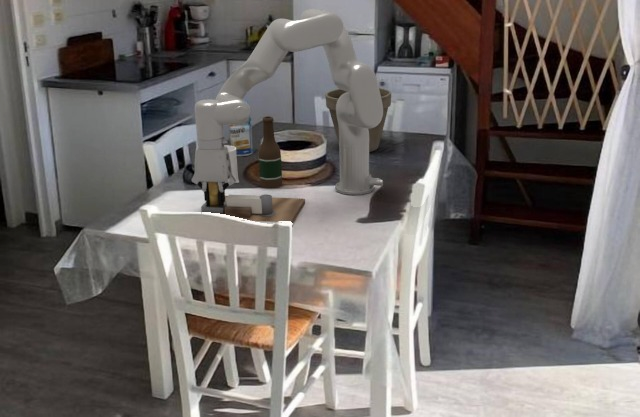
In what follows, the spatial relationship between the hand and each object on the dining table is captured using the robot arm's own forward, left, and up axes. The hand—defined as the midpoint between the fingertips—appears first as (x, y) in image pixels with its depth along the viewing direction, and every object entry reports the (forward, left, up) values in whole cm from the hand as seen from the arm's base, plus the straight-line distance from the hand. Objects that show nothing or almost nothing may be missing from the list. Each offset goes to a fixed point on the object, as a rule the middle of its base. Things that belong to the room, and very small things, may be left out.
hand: (215, 202), depth 220 cm
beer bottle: (-11, -26, -4) cm, 28 cm away
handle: (-11, 0, -2) cm, 11 cm away
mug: (+6, -29, -5) cm, 30 cm away
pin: (0, 0, -1) cm, 1 cm away
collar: (0, 0, -3) cm, 3 cm away
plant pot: (-33, -77, -5) cm, 84 cm away
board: (-10, -4, -4) cm, 12 cm away
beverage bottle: (+10, -65, -4) cm, 66 cm away
